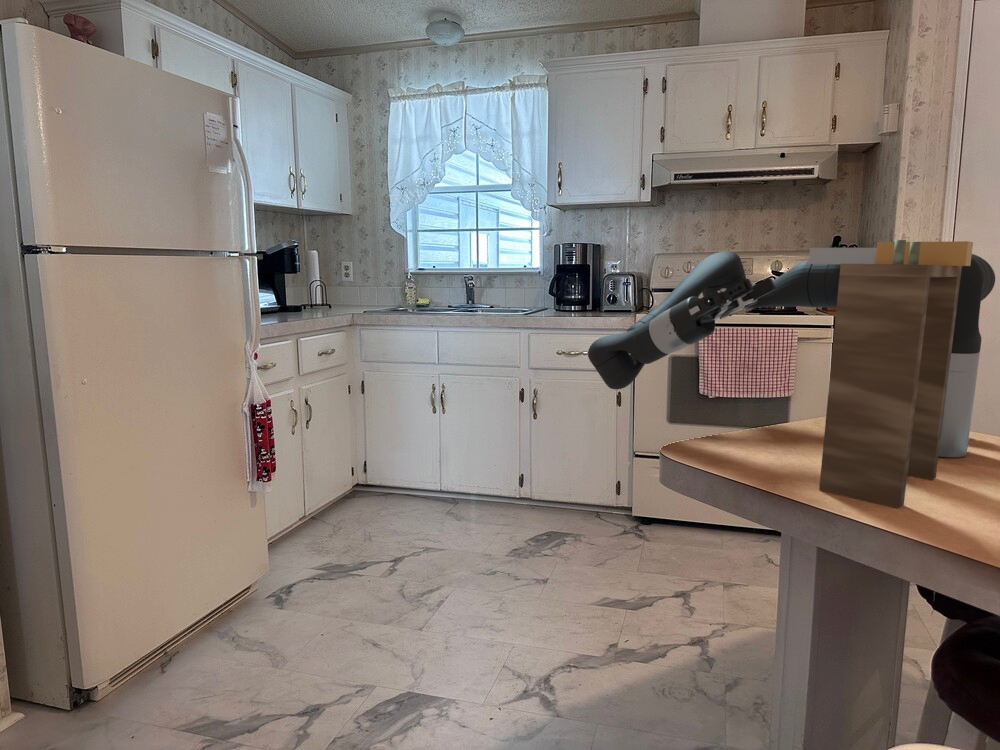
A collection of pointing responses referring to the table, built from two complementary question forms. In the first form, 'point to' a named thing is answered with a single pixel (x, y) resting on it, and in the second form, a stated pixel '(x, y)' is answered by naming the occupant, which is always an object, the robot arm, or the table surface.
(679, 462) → the table surface
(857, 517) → the table surface
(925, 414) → the shelf
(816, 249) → the two-tone rectangular bar
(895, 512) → the table surface
